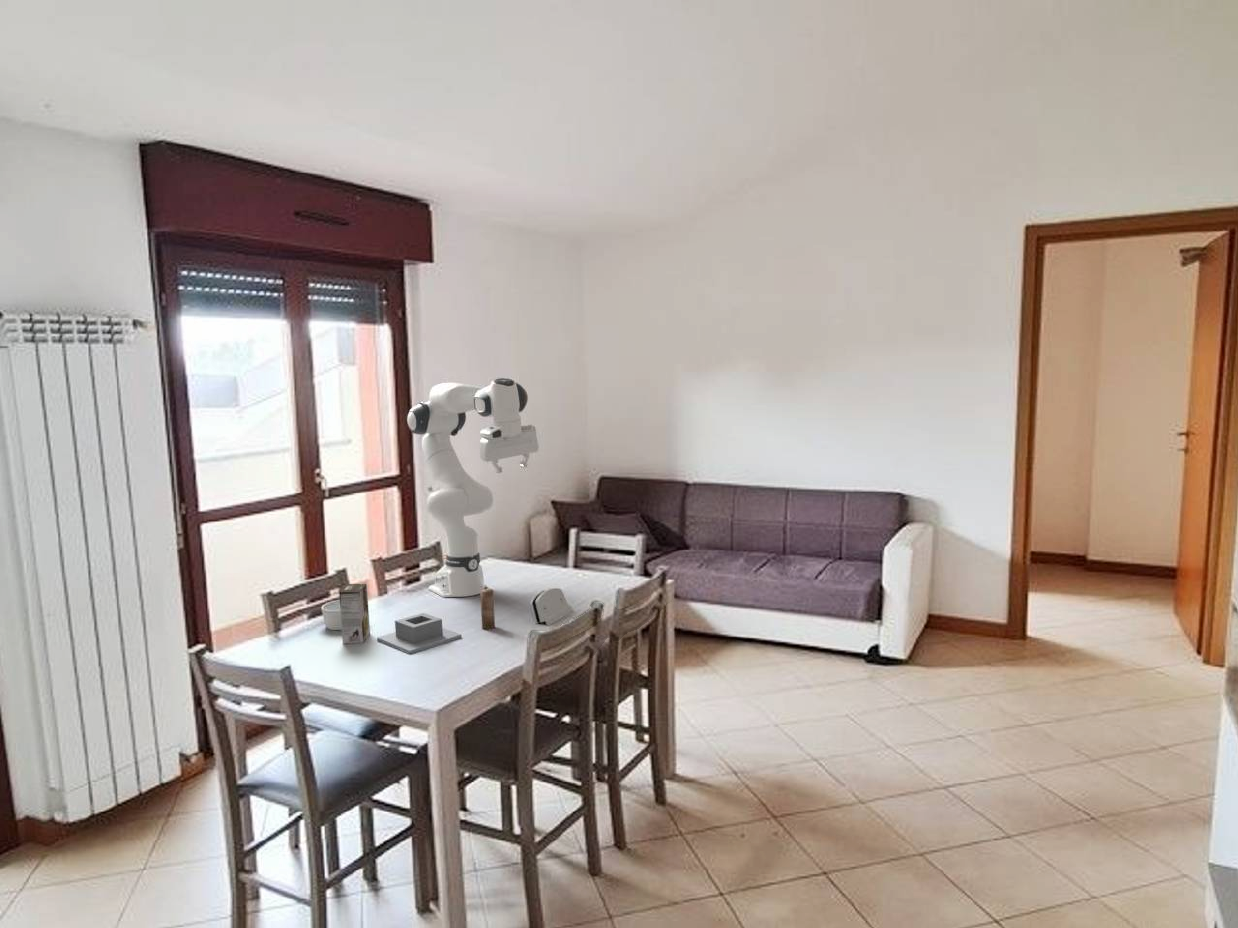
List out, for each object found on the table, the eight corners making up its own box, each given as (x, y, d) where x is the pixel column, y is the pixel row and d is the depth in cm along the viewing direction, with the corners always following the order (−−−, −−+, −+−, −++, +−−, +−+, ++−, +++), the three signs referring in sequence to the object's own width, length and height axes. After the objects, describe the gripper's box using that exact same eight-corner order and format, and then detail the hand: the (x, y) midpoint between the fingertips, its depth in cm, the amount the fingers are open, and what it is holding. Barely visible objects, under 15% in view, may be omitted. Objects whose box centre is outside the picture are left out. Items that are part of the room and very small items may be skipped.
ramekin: (374, 622, 257) (373, 601, 256) (343, 634, 246) (341, 612, 245) (345, 617, 263) (344, 596, 262) (313, 628, 252) (312, 607, 251)
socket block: (377, 640, 239) (376, 621, 238) (428, 625, 252) (427, 607, 251) (409, 654, 226) (408, 633, 226) (461, 637, 240) (460, 618, 239)
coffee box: (349, 634, 246) (346, 583, 244) (370, 632, 246) (367, 582, 244) (341, 644, 237) (338, 591, 235) (363, 642, 237) (360, 590, 235)
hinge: (547, 625, 249) (537, 595, 249) (535, 628, 251) (525, 599, 251) (573, 610, 264) (563, 582, 264) (562, 613, 266) (552, 585, 266)
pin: (479, 628, 248) (477, 591, 247) (489, 624, 251) (488, 588, 250) (487, 630, 245) (485, 593, 244) (497, 627, 248) (495, 590, 247)
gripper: (530, 422, 265) (533, 462, 268) (475, 432, 253) (479, 473, 257) (540, 424, 260) (543, 465, 264) (484, 434, 249) (488, 477, 252)
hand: (511, 469), depth 260 cm, fingers open, 8 cm apart
